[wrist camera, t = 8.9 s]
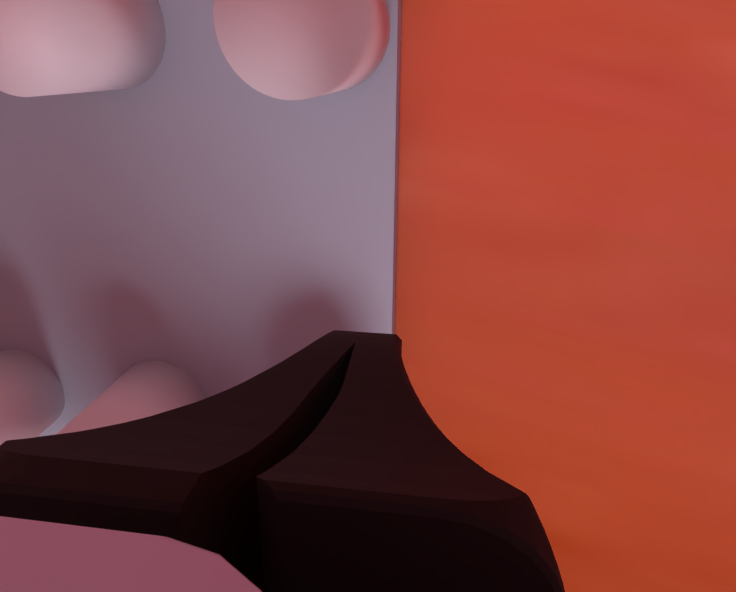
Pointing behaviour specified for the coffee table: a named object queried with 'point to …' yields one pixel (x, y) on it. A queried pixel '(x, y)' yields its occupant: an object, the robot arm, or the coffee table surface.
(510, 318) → the coffee table surface
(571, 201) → the coffee table surface
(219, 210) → the spacer board
